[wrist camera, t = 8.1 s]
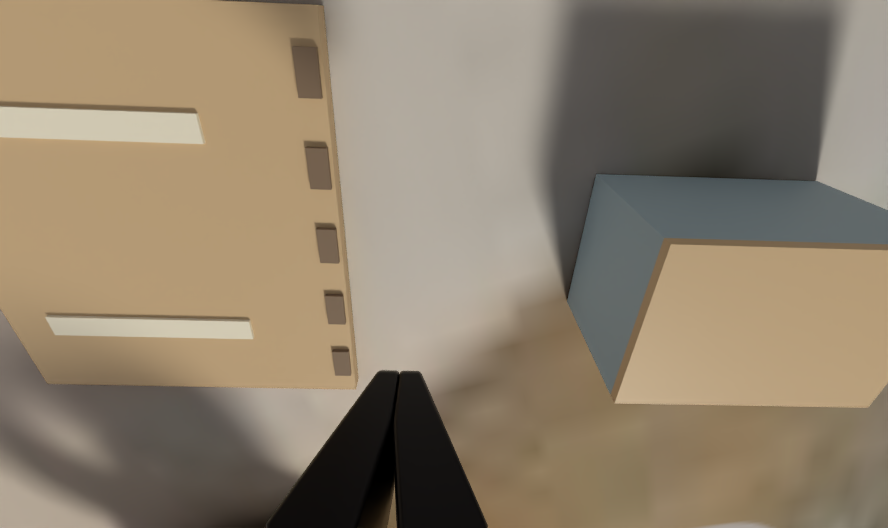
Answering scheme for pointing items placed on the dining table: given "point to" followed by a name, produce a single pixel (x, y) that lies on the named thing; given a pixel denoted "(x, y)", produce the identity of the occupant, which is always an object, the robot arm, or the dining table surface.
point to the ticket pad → (173, 194)
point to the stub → (733, 292)
